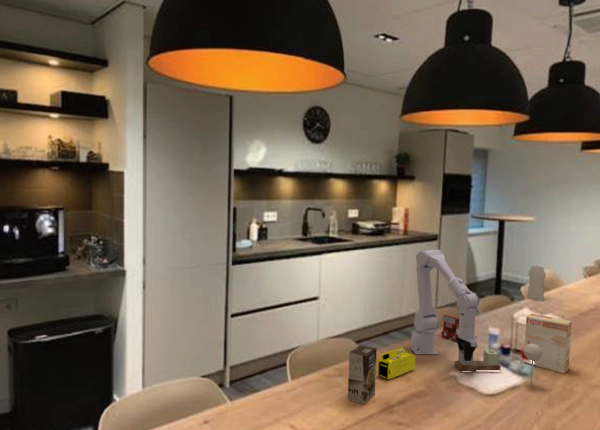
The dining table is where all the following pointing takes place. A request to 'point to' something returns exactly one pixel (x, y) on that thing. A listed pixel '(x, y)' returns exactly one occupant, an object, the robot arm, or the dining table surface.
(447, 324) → the toy fire truck
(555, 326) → the coffeecake box
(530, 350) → the lollipop
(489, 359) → the sage block
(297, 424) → the dining table surface
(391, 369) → the yellow toy machine
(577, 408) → the dining table surface
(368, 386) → the coffee box
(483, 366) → the walnut base brick
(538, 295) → the dispenser
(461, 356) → the slate block
